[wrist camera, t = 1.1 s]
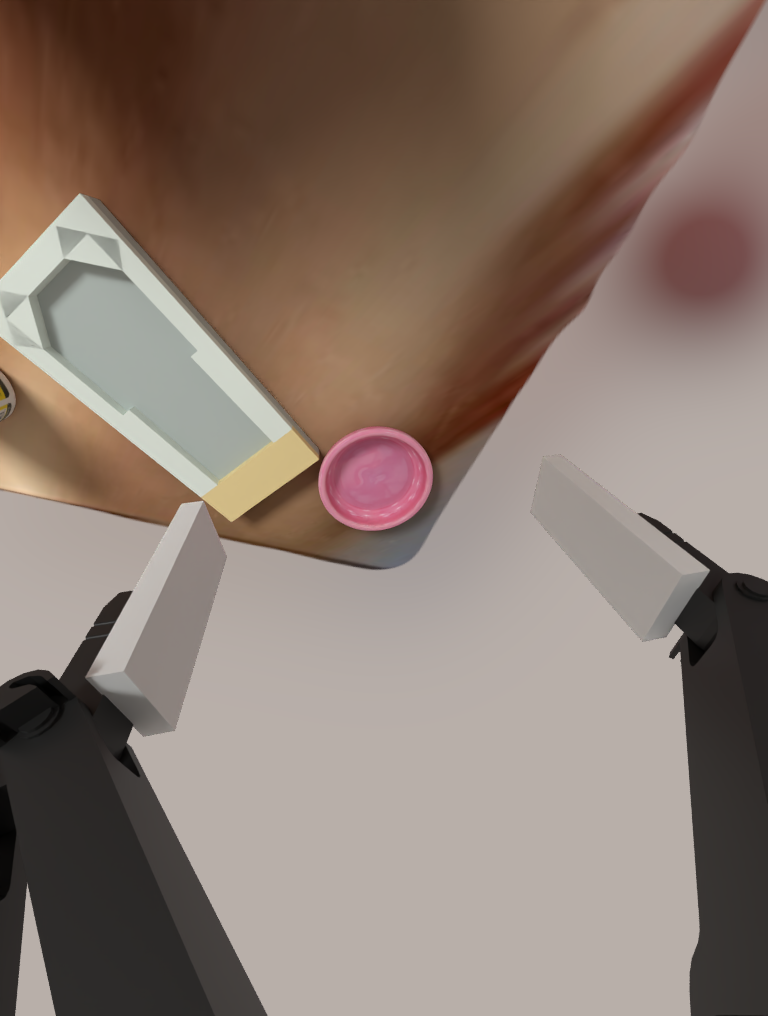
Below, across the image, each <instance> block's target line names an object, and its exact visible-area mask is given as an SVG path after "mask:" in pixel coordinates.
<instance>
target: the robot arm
mask: <svg viewBox="0 0 768 1016" xmlns="http://www.w3.org/2000/svg"><path fill="white" fill-rule="evenodd" d="M531 514H532V515H533V516H534V517H535V518H536V520H537V521H538V522H539V523H540V524H541V525H542V526H543V528H544V529H545V530H546V531H547V532H548V533H549V535H550V536H551V537H552V538H553V539H554V540H555V541H556V543H557V544H558V545H559V546H560V547H561V548H562V549H563V551H564V552H565V553H566V554H567V555H568V556H569V557H570V559H571V560H572V561H573V562H574V563H575V565H577V567H578V568H579V569H580V570H581V571H582V573H583V574H584V575H585V576H586V577H587V578H588V579H589V581H590V582H591V583H592V584H593V585H594V586H595V588H596V589H597V590H598V591H599V592H600V593H601V594H602V596H603V597H604V598H605V599H606V600H607V601H608V603H609V604H610V605H611V606H612V607H613V608H614V610H615V611H616V612H617V613H618V614H619V615H620V616H621V618H622V619H623V620H624V621H625V622H626V623H627V625H628V626H629V627H630V628H631V629H632V630H633V631H634V633H635V634H636V635H637V636H638V637H639V638H640V640H642V641H649V640H653V639H659V638H664V637H667V635H668V634H669V632H670V631H671V629H672V627H673V626H674V624H676V625H677V626H678V627H679V628H680V629H681V630H682V631H683V632H684V633H683V635H682V636H681V638H680V639H679V640H678V642H677V643H676V645H675V646H674V648H673V649H672V651H671V652H670V656H669V657H670V658H672V659H674V658H675V656H676V655H677V654H678V652H681V666H682V679H683V680H682V681H683V694H684V709H685V723H686V737H687V751H688V765H689V780H690V794H691V807H692V823H693V836H694V850H695V863H696V864H695V865H696V879H697V891H698V892H697V893H698V908H699V922H700V933H699V940H698V944H697V947H696V949H695V952H694V955H693V957H692V961H691V968H690V1005H691V1006H690V1007H691V1016H768V582H767V581H765V580H763V579H760V578H758V577H755V576H752V575H748V574H742V573H728V572H726V571H725V570H724V569H722V568H721V567H719V566H718V565H717V564H716V563H714V562H713V561H712V560H710V559H709V558H708V557H706V556H705V555H703V554H702V553H701V552H700V551H698V550H697V549H695V548H694V547H693V546H691V545H690V544H689V543H687V542H684V541H683V539H682V538H681V537H679V536H678V535H677V534H675V533H672V531H671V530H670V529H669V528H667V527H666V526H665V525H663V524H662V523H661V522H659V521H658V520H656V519H653V518H651V517H649V516H647V515H645V514H643V513H636V512H634V511H633V510H632V509H630V508H629V507H628V506H627V505H625V504H624V503H623V502H621V501H620V500H619V499H617V498H616V497H615V496H614V495H612V494H611V493H610V492H608V491H607V490H606V489H605V488H603V487H602V486H601V485H600V484H598V483H597V482H595V481H594V480H593V479H592V478H590V477H589V476H588V475H587V474H585V473H584V472H583V471H581V470H580V469H579V468H578V467H576V466H575V465H574V464H572V463H571V462H570V461H568V460H567V459H566V458H565V457H563V456H562V455H552V456H545V457H543V458H542V463H541V468H540V472H539V477H538V481H537V485H536V490H535V494H534V499H533V503H532V507H531ZM226 558H227V556H226V554H225V551H224V549H223V546H222V544H221V542H220V539H219V537H218V534H217V532H216V530H215V527H214V525H213V523H212V520H211V518H210V515H209V513H208V511H207V508H206V506H205V503H204V501H199V502H191V503H183V504H181V506H180V507H179V509H178V511H177V513H176V515H175V516H174V518H173V520H172V522H171V524H170V525H169V527H168V529H167V531H166V533H165V535H164V536H163V538H162V540H161V542H160V543H159V546H158V547H157V549H156V551H155V552H154V555H153V557H152V558H151V560H150V561H149V563H148V565H147V567H146V569H145V571H144V572H143V574H142V576H141V578H140V580H139V581H138V583H137V585H136V587H135V589H134V590H133V591H128V592H121V593H119V594H118V595H117V596H116V597H114V598H113V599H112V600H111V601H110V602H109V603H108V604H107V605H106V606H105V607H104V608H103V610H102V611H101V613H100V615H99V616H98V618H97V619H96V621H95V622H94V627H91V629H90V631H89V632H88V634H87V636H86V640H84V641H83V642H82V644H81V645H80V647H79V649H78V650H77V652H76V653H75V655H74V657H73V658H72V660H71V662H70V663H69V665H68V667H67V668H66V670H65V672H64V673H63V675H62V676H61V678H60V679H59V680H58V679H57V678H56V677H55V676H54V675H53V674H52V673H50V672H49V671H46V670H35V671H31V672H27V673H23V674H22V675H19V676H17V677H15V678H13V679H11V680H9V681H7V682H6V683H4V684H3V685H2V686H0V1016H15V1010H16V999H17V987H18V977H19V976H18V975H19V966H20V954H21V943H22V933H23V921H24V911H25V899H26V889H27V883H28V888H29V892H30V897H31V901H32V906H33V911H34V916H35V920H36V925H37V930H38V934H39V939H40V944H41V948H42V953H43V958H44V962H45V967H46V972H47V976H48V981H49V986H50V990H51V995H52V1000H53V1004H54V1009H55V1013H56V1016H267V1014H266V1012H265V1010H264V1008H263V1006H262V1004H261V1002H260V1000H259V998H258V996H257V994H256V992H255V990H254V988H253V986H252V984H251V982H250V980H249V978H248V976H247V974H246V972H245V970H244V968H243V966H242V964H241V962H240V960H239V958H238V957H237V954H236V953H235V950H234V949H233V947H232V945H231V943H230V941H229V939H228V937H227V935H226V933H225V931H224V929H223V927H222V925H221V923H220V921H219V919H218V917H217V915H216V913H215V911H214V909H213V907H212V905H211V903H210V901H209V899H208V897H207V895H206V893H205V891H204V890H203V887H202V885H201V883H200V882H199V879H198V878H197V875H196V874H195V872H194V870H193V868H192V866H191V864H190V862H189V860H188V858H187V856H186V854H185V852H184V850H183V848H182V846H181V844H180V842H179V840H178V838H177V836H176V834H175V832H174V830H173V828H172V826H171V824H170V822H169V820H168V819H167V816H166V814H165V812H164V810H163V808H162V806H161V804H160V803H159V801H158V799H157V797H156V795H155V793H154V791H153V789H152V787H151V785H150V783H149V781H148V779H147V777H146V775H145V773H144V771H143V769H142V767H141V765H140V763H139V761H138V759H137V757H136V755H135V753H134V751H133V749H132V748H131V747H130V746H129V745H128V744H127V740H128V737H129V735H130V732H131V730H132V727H135V729H136V730H137V731H138V732H139V733H140V734H141V735H142V736H149V735H154V734H160V733H165V732H170V731H175V729H176V725H177V722H178V718H179V715H180V712H181V708H182V705H183V701H184V698H185V695H186V692H187V688H188V685H189V682H190V678H191V675H192V672H193V668H194V665H195V661H196V658H197V655H198V652H199V648H200V645H201V641H202V638H203V635H204V632H205V628H206V625H207V622H208V618H209V615H210V611H211V608H212V605H213V602H214V598H215V595H216V591H217V588H218V585H219V582H220V578H221V575H222V572H223V568H224V565H225V561H226Z"/></svg>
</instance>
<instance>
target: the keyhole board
mask: <svg viewBox="0 0 768 1016" xmlns="http://www.w3.org/2000/svg"><path fill="white" fill-rule="evenodd" d="M0 337H2V338H3V339H4V340H5V341H7V342H8V343H9V344H10V345H12V346H13V347H14V348H15V349H16V350H18V351H19V352H20V353H21V354H23V355H24V356H25V357H26V358H28V359H29V360H30V361H31V362H33V363H34V364H35V365H36V366H38V367H39V368H40V369H41V370H43V371H44V372H45V373H46V374H48V375H49V376H50V377H51V378H53V379H54V380H55V381H56V382H58V383H59V384H60V385H61V386H63V387H64V388H65V389H66V390H68V391H69V392H70V393H71V394H73V395H74V396H75V397H76V398H78V399H79V400H80V401H81V402H83V403H84V404H85V405H86V406H88V407H89V408H90V409H91V410H93V411H94V412H95V413H96V414H98V415H99V416H100V417H101V418H103V419H104V420H105V421H106V422H108V423H109V424H110V425H111V426H112V427H114V428H115V429H116V430H117V431H119V432H120V433H121V434H122V435H124V436H125V437H126V438H127V439H129V440H130V441H131V442H132V443H134V444H135V445H136V446H137V447H139V448H140V449H141V450H142V451H144V452H145V453H146V454H147V455H149V456H150V457H151V458H152V459H154V460H155V461H156V462H157V463H159V464H160V465H161V466H162V467H164V468H165V469H166V470H167V471H169V472H170V473H171V474H172V475H174V476H175V477H176V478H177V479H179V480H180V481H181V482H182V483H184V484H185V485H186V486H187V487H189V488H190V489H191V490H192V491H194V492H195V493H196V494H197V495H199V496H200V497H201V498H202V499H204V500H205V501H206V502H207V503H208V504H210V505H211V506H212V507H213V508H215V509H216V510H217V511H218V512H220V513H221V514H222V515H223V516H225V517H226V518H227V519H228V520H230V521H231V522H232V521H234V520H235V519H237V518H238V517H239V516H241V515H242V514H244V513H245V512H246V511H248V510H249V509H251V508H252V507H253V506H255V505H256V504H258V503H259V502H260V501H262V500H263V499H265V498H266V497H267V496H269V495H270V494H272V493H273V492H274V491H276V490H277V489H279V488H280V487H281V486H283V485H284V484H286V483H287V482H288V481H290V480H291V479H293V478H294V477H295V476H297V475H298V474H300V473H301V472H302V471H304V470H305V469H307V468H308V467H309V466H311V465H312V464H314V463H315V462H316V461H318V460H319V449H318V447H317V446H316V445H315V444H314V443H313V442H312V441H311V439H310V438H309V437H308V436H307V435H306V434H305V433H304V432H303V430H302V429H301V428H300V427H299V426H298V425H297V424H296V422H295V421H294V420H293V419H292V418H291V417H290V416H289V414H288V413H287V412H286V411H285V410H284V409H283V408H282V407H281V405H280V404H279V403H278V402H277V401H276V400H275V399H274V397H273V396H272V395H271V394H270V393H269V392H268V391H267V389H266V388H265V387H264V386H263V385H262V384H261V383H260V382H259V380H258V379H257V378H256V377H255V376H254V375H253V374H252V372H251V371H250V370H249V369H248V368H247V367H246V366H245V365H244V363H243V362H242V361H241V360H240V359H239V358H238V357H237V355H236V354H235V353H234V352H233V351H232V350H231V349H230V347H229V346H228V345H227V344H226V343H225V342H224V341H223V340H222V338H221V337H220V336H219V335H218V334H217V333H216V332H215V330H214V329H213V328H212V327H211V326H210V325H209V324H208V322H207V321H206V320H205V319H204V318H203V317H202V316H201V315H200V313H199V312H198V311H197V310H196V309H195V308H194V307H193V305H192V304H191V303H190V302H189V301H188V300H187V299H186V298H185V296H184V295H183V294H182V293H181V292H180V291H179V290H178V288H177V287H176V286H175V285H174V284H173V283H172V282H171V280H170V279H169V278H168V277H167V276H166V275H165V274H164V273H163V271H162V270H161V269H160V268H159V267H158V266H157V265H156V263H155V262H154V261H153V260H152V259H151V258H150V257H149V255H148V254H147V253H146V252H145V251H144V250H143V249H142V248H141V246H140V245H139V244H138V243H137V242H136V241H135V240H134V238H133V237H132V236H131V235H130V234H129V233H128V232H127V230H126V229H125V228H124V227H123V226H122V225H121V224H120V223H119V221H118V220H117V219H116V218H115V217H114V216H113V215H112V213H111V212H110V211H109V210H108V209H107V208H106V207H105V206H104V204H103V203H102V202H101V201H100V200H99V199H96V198H93V197H90V196H87V195H84V194H81V193H79V195H78V196H77V197H76V198H75V199H74V200H73V201H72V202H71V203H70V204H69V205H68V207H67V208H66V209H65V210H64V211H63V212H62V213H61V214H60V215H59V216H58V217H57V219H56V220H55V221H54V222H53V223H52V224H51V225H50V226H49V227H48V228H47V229H46V231H45V232H44V233H43V234H42V235H41V236H40V237H39V238H38V239H37V240H36V241H35V243H34V244H33V245H32V246H31V247H30V248H29V249H28V250H27V251H26V252H25V253H24V255H23V256H22V257H21V258H20V259H19V260H18V261H17V262H16V263H15V264H14V265H13V267H12V268H11V269H10V270H9V271H8V272H7V273H6V274H5V275H4V276H3V277H2V279H1V280H0Z"/></svg>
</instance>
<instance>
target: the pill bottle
mask: <svg viewBox="0 0 768 1016" xmlns="http://www.w3.org/2000/svg"><path fill="white" fill-rule="evenodd" d="M15 404H16V397H15V393H14V390H13V388H12V386H11V384H10V382H9V381H8V379H7V378H6V377H5V375H4V374H3V373H2V372H1V371H0V421H2V420H4V419H6V418H7V417H8V416H10V415H11V413H12V412H13V410H14V408H15Z"/></svg>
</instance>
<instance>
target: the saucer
mask: <svg viewBox="0 0 768 1016" xmlns="http://www.w3.org/2000/svg"><path fill="white" fill-rule="evenodd" d="M432 482H433V470H432V465H431V462H430V459H429V457H428V455H427V453H426V452H425V450H424V449H423V447H422V446H421V445H420V444H419V443H418V442H417V441H416V440H415V439H414V438H413V437H411V436H410V435H408V434H406V433H405V432H402V431H400V430H397V429H394V428H389V427H381V426H377V427H367V428H362V429H359V430H356V431H354V432H352V433H350V434H348V435H346V436H344V437H343V438H342V439H340V440H339V441H338V442H337V443H335V444H334V445H333V447H332V448H331V449H330V450H329V451H328V453H327V455H326V456H325V458H324V460H323V462H322V465H321V468H320V472H319V479H318V485H319V493H320V497H321V500H322V502H323V504H324V506H325V508H326V509H327V510H328V512H329V513H330V514H331V515H332V516H333V517H334V518H335V519H337V520H338V521H339V522H341V523H343V524H345V525H347V526H349V527H352V528H355V529H359V530H365V531H378V530H385V529H389V528H392V527H395V526H397V525H400V524H402V523H403V522H405V521H407V520H408V519H410V518H411V517H412V516H414V515H415V514H416V513H417V512H418V511H419V510H420V509H421V507H422V506H423V505H424V503H425V502H426V500H427V498H428V496H429V494H430V491H431V487H432Z"/></svg>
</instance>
